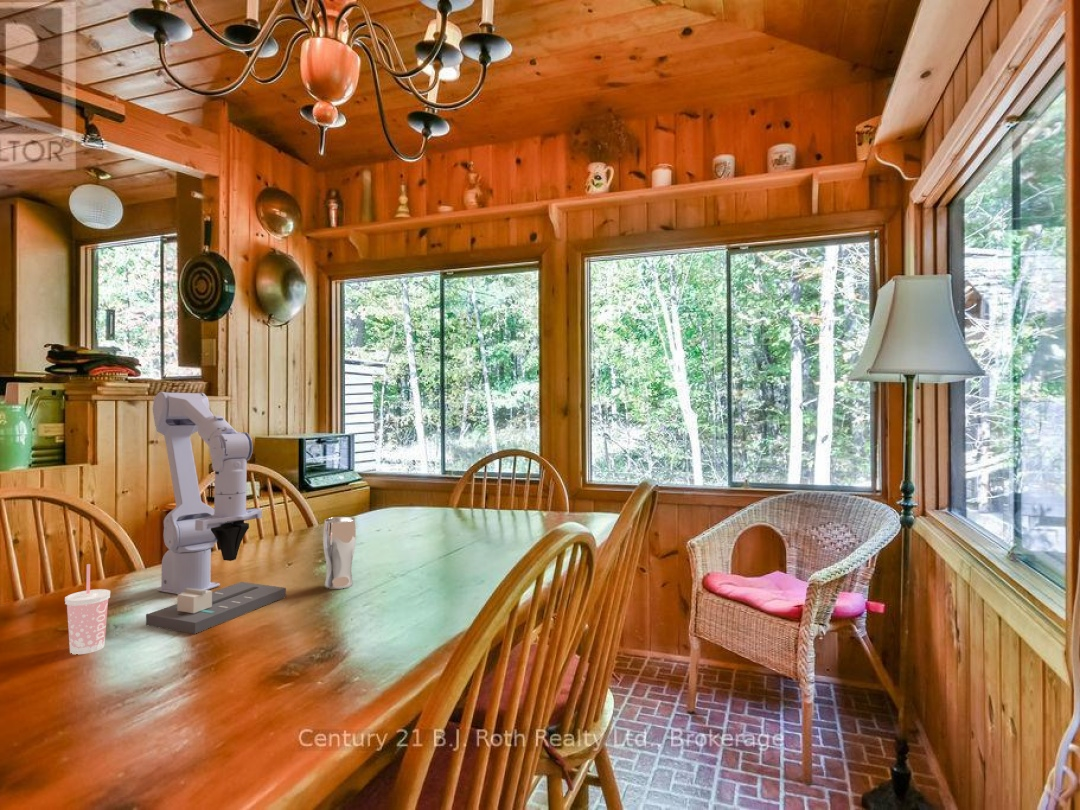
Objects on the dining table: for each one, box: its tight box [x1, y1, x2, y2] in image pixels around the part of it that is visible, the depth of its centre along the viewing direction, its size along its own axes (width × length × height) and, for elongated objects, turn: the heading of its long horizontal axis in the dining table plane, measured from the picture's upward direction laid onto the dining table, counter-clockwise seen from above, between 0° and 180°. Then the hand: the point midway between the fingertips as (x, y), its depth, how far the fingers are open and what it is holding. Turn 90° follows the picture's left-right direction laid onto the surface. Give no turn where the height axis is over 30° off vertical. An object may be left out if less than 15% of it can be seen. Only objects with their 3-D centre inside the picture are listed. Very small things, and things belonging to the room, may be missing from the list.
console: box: [145, 581, 287, 635], centre depth 118 cm, size 12×22×2 cm, turn 161°
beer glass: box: [322, 516, 357, 590], centre depth 136 cm, size 7×7×15 cm
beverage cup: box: [64, 563, 111, 655], centre depth 99 cm, size 6×6×14 cm
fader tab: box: [176, 588, 213, 613], centre depth 113 cm, size 4×4×4 cm
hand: (229, 559), depth 121 cm, fingers closed
